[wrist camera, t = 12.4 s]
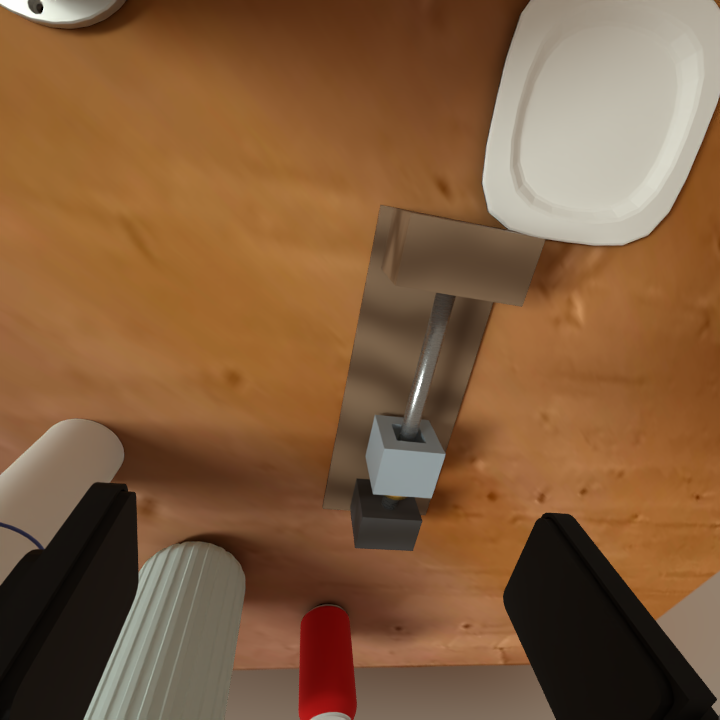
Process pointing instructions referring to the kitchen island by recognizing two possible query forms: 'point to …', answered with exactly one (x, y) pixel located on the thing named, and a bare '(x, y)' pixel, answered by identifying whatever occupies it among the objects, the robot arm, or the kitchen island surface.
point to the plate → (600, 116)
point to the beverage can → (326, 665)
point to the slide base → (417, 347)
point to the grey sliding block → (403, 459)
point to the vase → (176, 639)
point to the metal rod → (423, 376)
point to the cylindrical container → (52, 485)
